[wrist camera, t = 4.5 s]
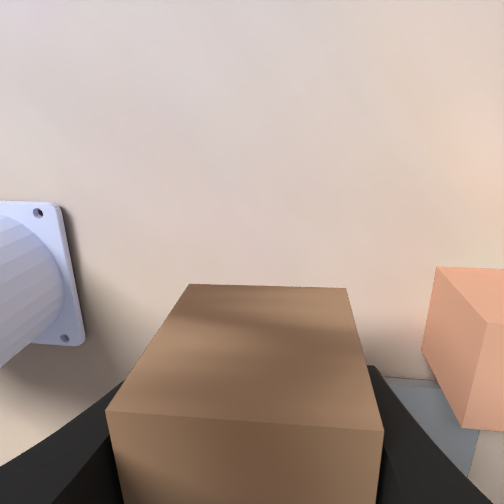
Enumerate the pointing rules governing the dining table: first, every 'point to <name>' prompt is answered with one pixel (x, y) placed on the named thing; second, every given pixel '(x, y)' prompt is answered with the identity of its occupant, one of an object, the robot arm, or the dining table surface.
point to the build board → (437, 419)
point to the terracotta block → (468, 343)
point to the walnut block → (250, 403)
